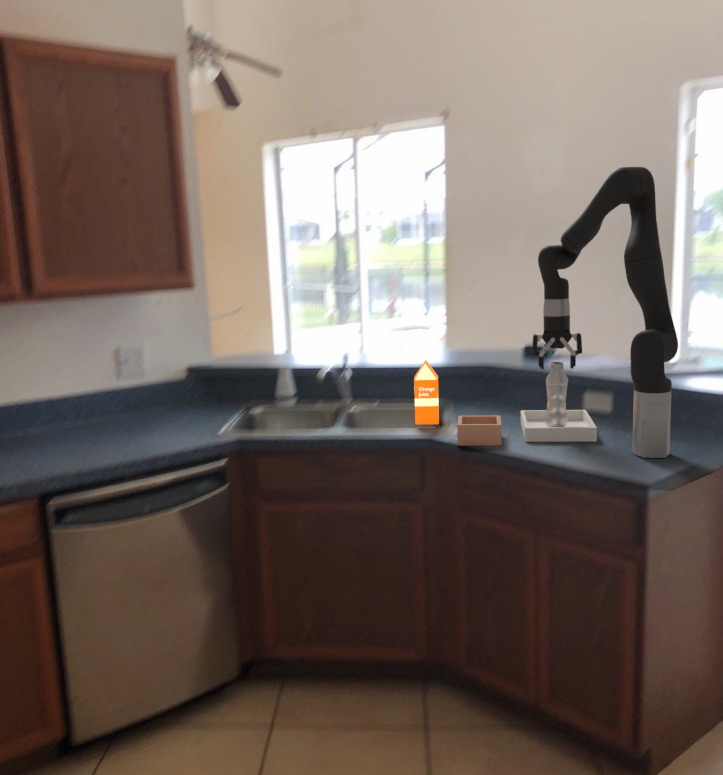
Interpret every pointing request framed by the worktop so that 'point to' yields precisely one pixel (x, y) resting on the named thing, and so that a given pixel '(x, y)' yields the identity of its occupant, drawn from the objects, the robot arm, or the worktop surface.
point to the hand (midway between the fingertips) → (557, 368)
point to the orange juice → (426, 395)
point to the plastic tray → (574, 431)
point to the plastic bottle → (556, 396)
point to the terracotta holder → (479, 430)
